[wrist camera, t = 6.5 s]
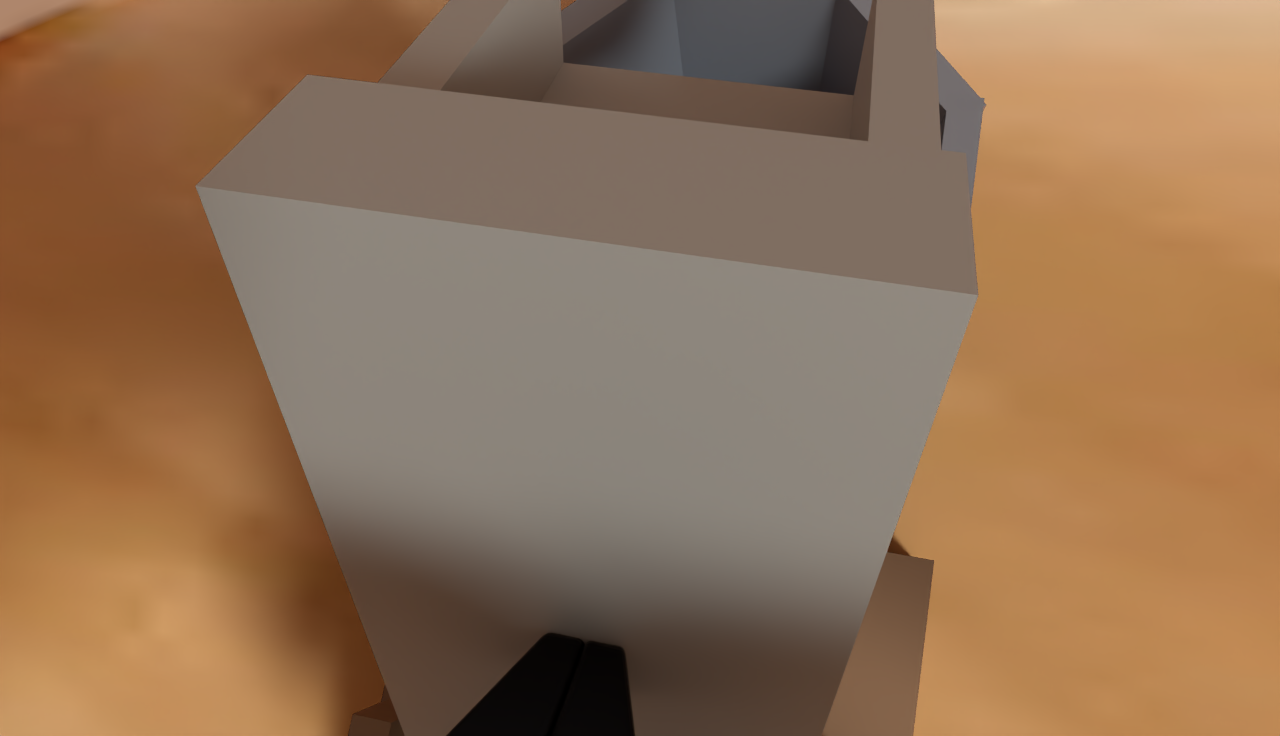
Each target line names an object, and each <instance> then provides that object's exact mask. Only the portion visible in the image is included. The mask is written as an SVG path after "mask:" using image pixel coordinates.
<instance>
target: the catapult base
mask: <svg viewBox="0 0 1280 736" xmlns="http://www.w3.org/2000/svg"><path fill="white" fill-rule="evenodd" d="M933 565H934V560H928V559H923V558H917V557H912V556H906V555H900V554H895V553H889V552H887V553H886V556H885V559H884V561H883V564H882V567H881V570H880V573H879V575H878V578H877V581H876V584H875V587H874V589H873V592H872V595H871V598H870V601H869V604H868V606H867V609H866V612H865V615H864V618H863V620H862V623H861V626H860V629H859V632H858V634H857V637H856V640H855V643H854V646H853V649H852V651H851V654H850V657H849V660H848V663H847V665H846V668H845V671H844V674H843V677H842V679H841V682H840V685H839V688H838V691H837V694H836V696H835V699H834V702H833V705H832V708H831V710H830V713H829V716H828V719H827V722H826V724H825V727H824V730H823V733H822V736H913V732H914V723H915V715H916V707H917V698H918V690H919V682H920V673H921V665H922V657H923V649H924V640H925V632H926V624H927V615H928V607H929V599H930V590H931V582H932V574H933ZM348 736H405V735H404V732H403V730H402V727H401V725H400V722H399V719H398V717H397V714H396V711H395V709H394V706H393V704H392V701H391V698H390V696H389V693H388V690H387V688H386V685H385V687H384V691H383V696H382V700H381V703H378V704H376V705H373V706H371V707H369V708H366V709H364V710H362V711H359V712H357V713H354V714H353V716H352V720H351V725H350V729H349V734H348Z"/></svg>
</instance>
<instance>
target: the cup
mask: <svg viewBox="0 0 1280 736" xmlns="http://www.w3.org/2000/svg"><path fill="white" fill-rule="evenodd" d="M871 4H872V0H576V1H575V2H573V3H572V4H570V5H569V6H568V7H566V8H565V9H563V10H562V11H561V19H562V41H563V63H571V64H580V65H589V66H597V67H606V68H615V69H624V70H633V71H642V72H651V73H660V74H669V75H677V76H686V77H695V78H704V79H713V80H722V81H731V82H740V83H748V84H757V85H766V86H775V87H784V88H793V89H802V90H811V91H820V92H828V93H837V94H846V95H854V92H855V87H856V81H857V76H858V71H859V66H860V61H861V56H862V51H863V45H864V40H865V35H866V30H867V25H868V20H869V14H870V9H871ZM936 54H937V74H938V94H939V114H940V135H941V150H945V151H953V152H962V153H966V159H967V171H968V183H969V194H970V206H971V203H972V195H973V187H974V179H975V170H976V162H977V154H978V146H979V138H980V129H981V121H982V113H983V110H984V108H985V106H986V104H985V103H984V98H980V97H979V96H978V95H977V94H976V93H975V91H974V90H973V89H972V88H971V87H970V86H969V85H968V84H967V82H966V81H965V80H964V79H963V78H962V77H961V76H960V75H959V73H958V72H957V71H956V70H955V69H954V68H953V67H952V66H951V65H950V63H949V62H948V61H947V60H946V59H945V58H944V57H943V56H942V54H941V53H940V52H939V51H938V50H937V49H936Z"/></svg>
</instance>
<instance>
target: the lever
mask: <svg viewBox="0 0 1280 736" xmlns="http://www.w3.org/2000/svg"><path fill="white" fill-rule="evenodd" d="M196 189H197V192H198V194H199V197H200V200H201V202H202V205H203V207H204V210H205V213H206V215H207V218H208V221H209V223H210V226H211V228H212V231H213V234H214V236H215V239H216V242H217V244H218V247H219V249H220V252H221V255H222V257H223V260H224V263H225V265H226V268H227V270H228V273H229V276H230V278H231V281H232V284H233V286H234V289H235V291H236V294H237V297H238V299H239V302H240V305H241V307H242V310H243V312H244V315H245V318H246V320H247V323H248V326H249V328H250V331H251V333H252V336H253V339H254V341H255V344H256V347H257V349H258V352H259V354H260V357H261V360H262V362H263V365H264V368H265V370H266V373H267V375H268V378H269V381H270V383H271V386H272V389H273V391H274V394H275V396H276V399H277V402H278V404H279V407H280V410H281V412H282V415H283V417H284V420H285V423H286V425H287V428H288V431H289V433H290V436H291V438H292V441H293V444H294V446H295V449H296V452H297V454H298V457H299V459H300V462H301V465H302V467H303V470H304V473H305V475H306V478H307V480H308V483H309V486H310V488H311V491H312V494H313V496H314V499H315V501H316V504H317V507H318V509H319V512H320V515H321V517H322V520H323V522H324V525H325V528H326V530H327V533H328V536H329V538H330V541H331V543H332V546H333V549H334V551H335V554H336V557H337V559H338V562H339V564H340V567H341V570H342V572H343V575H344V578H345V580H346V583H347V585H348V588H349V591H350V593H351V596H352V599H353V601H354V604H355V606H356V609H357V612H358V614H359V617H360V620H361V622H362V625H363V627H364V630H365V633H366V635H367V638H368V641H369V643H370V646H371V648H372V651H373V654H374V656H375V659H376V662H377V664H378V667H379V669H380V672H381V675H382V677H383V680H384V683H385V685H386V688H387V690H388V693H389V696H390V698H391V701H392V704H393V706H394V709H395V711H396V714H397V717H398V719H399V722H400V725H401V727H402V730H403V732H404V735H405V736H446V735H447V734H448V733H449V732H450V731H451V730H452V729H453V728H454V727H455V726H456V725H457V724H458V723H459V722H460V720H461V719H462V718H463V717H464V716H465V715H466V714H467V713H468V712H469V711H470V710H471V709H472V708H473V707H474V706H475V705H476V704H477V703H478V702H479V701H480V700H481V699H482V698H483V697H484V696H485V695H486V694H487V693H488V692H489V690H490V689H491V688H492V687H493V686H494V685H495V684H496V683H497V682H498V681H499V680H500V679H501V678H502V677H503V676H504V675H505V674H506V673H507V672H508V671H509V670H510V669H511V668H512V667H513V666H514V665H515V664H516V663H517V662H518V660H519V659H520V658H521V657H522V656H523V655H524V654H525V653H526V652H527V651H528V650H529V649H530V648H531V647H532V646H533V645H534V644H535V643H536V642H537V641H538V640H539V639H540V638H541V637H542V636H543V635H545V634H547V633H556V634H560V635H565V636H570V637H575V638H579V639H581V640H582V641H583V642H584V644H586V643H587V642H588V641H595V642H600V643H605V644H610V645H615V646H620V647H622V648H623V649H624V650H625V654H626V661H627V669H628V678H629V686H630V694H631V703H632V711H633V720H634V728H635V736H822V733H823V730H824V727H825V724H826V722H827V719H828V716H829V713H830V710H831V708H832V705H833V702H834V699H835V696H836V694H837V691H838V688H839V685H840V682H841V679H842V677H843V674H844V671H845V668H846V665H847V663H848V660H849V657H850V654H851V651H852V649H853V646H854V643H855V640H856V637H857V634H858V632H859V629H860V626H861V623H862V620H863V618H864V615H865V612H866V609H867V606H868V604H869V601H870V598H871V595H872V592H873V589H874V587H875V584H876V581H877V578H878V575H879V573H880V570H881V567H882V564H883V561H884V559H885V556H886V553H887V550H888V547H889V544H890V542H891V539H892V536H893V533H894V530H895V528H896V525H897V522H898V519H899V516H900V514H901V511H902V508H903V505H904V502H905V499H906V497H907V494H908V491H909V488H910V485H911V483H912V480H913V477H914V474H915V471H916V469H917V466H918V463H919V460H920V457H921V454H922V452H923V449H924V446H925V443H926V440H927V438H928V435H929V432H930V429H931V426H932V424H933V421H934V418H935V415H936V412H937V409H938V407H939V404H940V401H941V398H942V395H943V393H944V390H945V387H946V384H947V381H948V379H949V376H950V373H951V370H952V367H953V364H954V362H955V359H956V356H957V353H958V350H959V348H960V345H961V342H962V339H963V336H964V334H965V331H966V328H967V325H968V322H969V320H970V317H971V314H972V311H973V308H974V305H975V303H976V300H977V297H978V288H977V276H976V264H975V253H974V241H973V229H972V218H971V206H970V194H969V183H968V171H967V159H966V153H962V152H953V151H945V150H941V135H940V114H939V94H938V74H937V54H936V33H935V13H934V0H872V4H871V9H870V14H869V20H868V25H867V30H866V35H865V40H864V45H863V51H862V56H861V61H860V66H859V71H858V76H857V81H856V87H855V92H854V95H846V94H837V93H828V92H820V91H811V90H802V89H793V88H784V87H775V86H766V85H757V84H748V83H740V82H731V81H722V80H713V79H704V78H695V77H686V76H677V75H669V74H660V73H651V72H642V71H633V70H624V69H615V68H606V67H597V66H589V65H580V64H571V63H563V41H562V19H561V0H450V1H449V2H448V3H447V4H446V5H445V6H444V7H443V9H442V10H441V11H440V12H439V13H438V14H437V15H436V17H435V18H434V19H433V20H432V21H431V22H430V23H429V25H428V26H427V27H426V28H425V29H424V30H423V31H422V33H421V34H420V35H419V36H418V37H417V38H416V39H415V40H414V42H413V43H412V44H411V45H410V46H409V47H408V48H407V50H406V51H405V52H404V53H403V54H402V55H401V56H400V58H399V59H398V60H397V61H396V62H395V63H394V64H393V66H392V67H391V68H390V69H389V70H388V71H387V72H386V74H385V75H384V76H383V77H382V78H381V79H380V80H379V82H378V83H374V82H366V81H357V80H349V79H341V78H332V77H324V76H315V75H307V76H305V77H304V78H303V79H302V80H301V81H300V82H299V83H298V84H297V85H296V86H295V87H294V88H293V89H292V90H291V91H290V92H289V93H288V94H287V95H286V96H285V97H284V98H283V99H282V100H281V101H280V102H279V103H278V104H277V105H276V106H275V107H274V108H273V109H272V110H271V111H270V112H269V113H268V114H267V115H266V116H265V117H264V118H263V119H262V120H261V121H260V122H259V123H258V124H257V125H256V126H255V127H254V128H253V129H252V130H251V131H250V132H249V133H248V134H247V135H246V136H245V137H244V138H243V139H242V140H241V141H240V142H239V143H238V144H237V145H236V146H235V147H234V148H233V149H232V150H231V151H230V152H229V153H228V154H227V155H226V156H225V157H224V158H223V159H222V160H221V161H220V162H219V163H218V164H217V165H216V166H215V167H214V168H213V169H212V170H211V171H210V172H209V173H208V174H207V175H206V176H205V177H204V178H203V179H202V180H201V181H200V182H199V183H198V184H197V185H196Z"/></svg>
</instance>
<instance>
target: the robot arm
mask: <svg viewBox="0 0 1280 736" xmlns="http://www.w3.org/2000/svg"><path fill="white" fill-rule="evenodd" d="M446 736H635V728H634V720H633V711H632V703H631V694H630V686H629V678H628V669H627V661H626V654H625V650H624V649H623V648H622V647H620V646H615V645H610V644H605V643H600V642H595V641H588V642H587V643H586V644H584V642H583V641H582V640H581V639H579V638H575V637H570V636H565V635H560V634H556V633H547V634H545V635H543V636H542V637H541V638H540V639H539V640H538V641H537V642H536V643H535V644H534V645H533V646H532V647H531V648H530V649H529V650H528V651H527V652H526V653H525V654H524V655H523V656H522V657H521V658H520V659H519V660H518V662H517V663H516V664H515V665H514V666H513V667H512V668H511V669H510V670H509V671H508V672H507V673H506V674H505V675H504V676H503V677H502V678H501V679H500V680H499V681H498V682H497V683H496V684H495V685H494V686H493V687H492V688H491V689H490V690H489V692H488V693H487V694H486V695H485V696H484V697H483V698H482V699H481V700H480V701H479V702H478V703H477V704H476V705H475V706H474V707H473V708H472V709H471V710H470V711H469V712H468V713H467V714H466V715H465V716H464V717H463V718H462V719H461V720H460V722H459V723H458V724H457V725H456V726H455V727H454V728H453V729H452V730H451V731H450V732H449V733H448V734H447V735H446Z"/></svg>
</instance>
